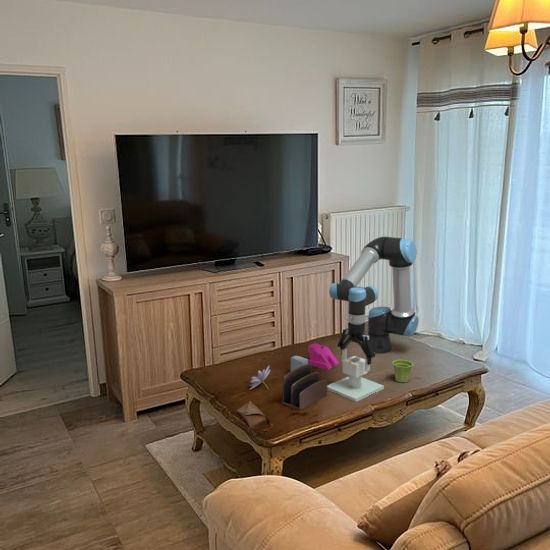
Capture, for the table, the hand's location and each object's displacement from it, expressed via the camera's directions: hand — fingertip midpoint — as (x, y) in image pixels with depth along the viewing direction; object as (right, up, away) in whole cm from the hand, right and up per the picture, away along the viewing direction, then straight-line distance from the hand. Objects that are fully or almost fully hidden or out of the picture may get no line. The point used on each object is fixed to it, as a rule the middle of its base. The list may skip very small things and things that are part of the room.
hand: (355, 366), depth 257 cm
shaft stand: (0, -11, +2) cm, 11 cm away
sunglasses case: (-46, -18, -24) cm, 55 cm away
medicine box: (-25, -7, +19) cm, 32 cm away
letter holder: (-23, -14, -8) cm, 28 cm away
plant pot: (+24, -9, +12) cm, 28 cm away
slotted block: (0, -3, +1) cm, 3 cm away
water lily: (-44, -10, +5) cm, 45 cm away
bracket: (-12, -4, +32) cm, 34 cm away
